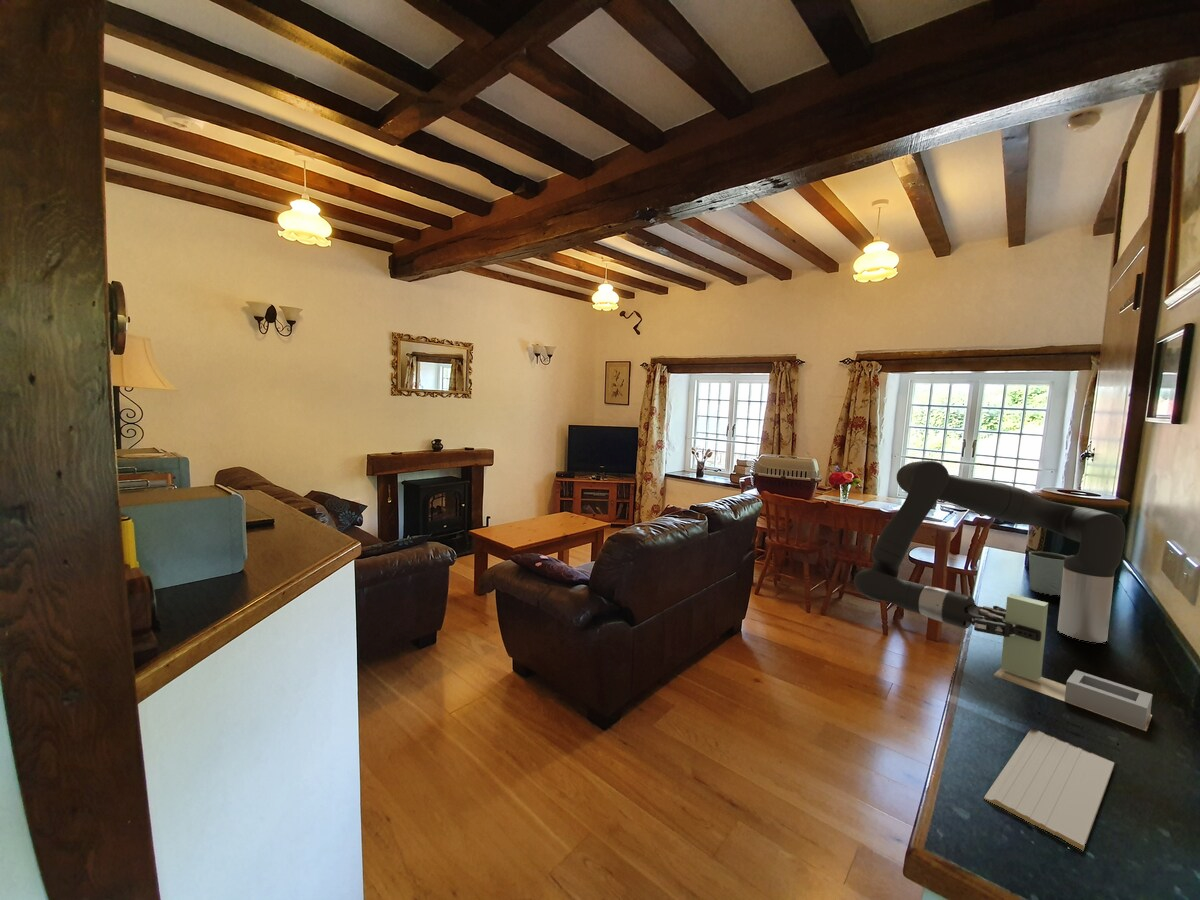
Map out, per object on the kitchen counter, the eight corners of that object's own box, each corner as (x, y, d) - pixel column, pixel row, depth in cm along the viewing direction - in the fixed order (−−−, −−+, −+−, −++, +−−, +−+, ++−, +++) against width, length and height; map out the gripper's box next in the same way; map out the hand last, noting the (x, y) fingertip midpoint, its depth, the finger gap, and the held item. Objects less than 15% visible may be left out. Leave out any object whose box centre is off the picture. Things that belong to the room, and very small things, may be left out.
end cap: (1073, 688, 99) (1075, 669, 99) (1150, 714, 91) (1152, 694, 91) (1064, 700, 95) (1066, 681, 95) (1144, 729, 86) (1146, 708, 86)
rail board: (1004, 668, 109) (1004, 664, 108) (1151, 720, 91) (1152, 715, 91) (992, 679, 104) (992, 675, 104) (1145, 736, 86) (1146, 730, 86)
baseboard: (971, 796, 72) (1082, 856, 63) (972, 778, 72) (1085, 835, 63) (1025, 720, 91) (1118, 757, 82) (1027, 705, 91) (1120, 741, 81)
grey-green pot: (1071, 599, 151) (1075, 562, 150) (1028, 592, 157) (1032, 556, 156) (1063, 589, 160) (1066, 554, 159) (1022, 583, 165) (1026, 549, 164)
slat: (1005, 664, 107) (1011, 593, 105) (1041, 676, 102) (1048, 602, 100) (1000, 668, 105) (1007, 596, 103) (1037, 681, 100) (1044, 606, 99)
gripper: (935, 597, 109) (1035, 625, 96) (958, 584, 118) (1053, 608, 104) (933, 629, 110) (1032, 661, 96) (955, 614, 118) (1050, 642, 105)
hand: (1042, 634), depth 100 cm, fingers closed on slat, 3 cm apart
